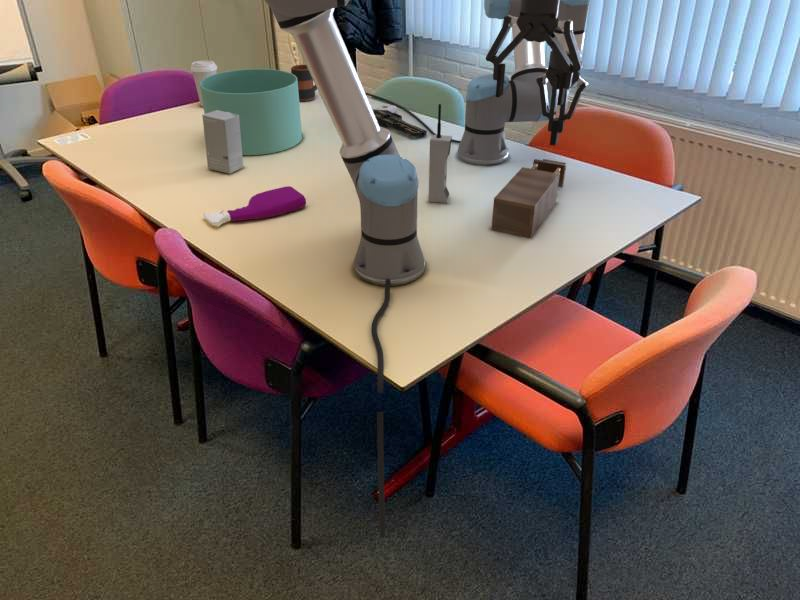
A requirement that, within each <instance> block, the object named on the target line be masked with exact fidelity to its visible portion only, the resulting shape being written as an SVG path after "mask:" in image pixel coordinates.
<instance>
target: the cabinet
mask: <svg viewBox="0 0 800 600" xmlns="http://www.w3.org/2000/svg"><path fill="white" fill-rule="evenodd" d="M559 176H560V174H558V173H552V172H547V171H541V170H535V169H531V168H530V167H529V168H528V167H524V166H523V167H521V168H520V169H519V170H518V171H517V172H516V173H515V175H514V176H512V178H511V179H509V181H508V182H507V183H506V185H505V186H503V188H502V189H501V190H500V191H499V192H498V193H497V194H496V195H495V196H494V198H493V204H492V217H491V227H490V228H491V229H490V230H492V231H496V232H501V233H506V234H511V235H516V236H520V237H525V238H529V239H531V238H533V236H534V234H535V233H536V231H537V230H538V229H539V228H540V226H541V224H543V222H544V220H545V219H546V217H547V216H548V215H549V214H550V212H551V210H552V209H553V207H555V205H556V203H557V196H558V189H559V187H558V183H559Z"/></svg>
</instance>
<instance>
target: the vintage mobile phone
mask: <svg viewBox="0 0 800 600" xmlns="http://www.w3.org/2000/svg"><path fill="white" fill-rule="evenodd" d="M437 111H438V112H437V127H436V129H437V130H436V134H437V135H431V138H430V140H429V161H428V162H429V163H428V164H429V165H428V197H427V198H428V201H427V202H431V203H441V204H448V201H449V198H450V192H449V189H448V188H447V174H448V173H447V172H448V160H449V156H450V155H451V154H450V153H451V146H452V142H451V140H452V139H453V136H452V135H443V134H442V133H441V132H442V122H441V118H442V104H441V103H439V104H438V110H437Z"/></svg>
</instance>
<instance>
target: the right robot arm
mask: <svg viewBox="0 0 800 600" xmlns="http://www.w3.org/2000/svg"><path fill="white" fill-rule="evenodd" d="M590 1H591V0H559V9H558V20H559V21H567V20H569V19H572V20H573V33H574V37H575V40H576V43H577V46H578V49H579V52H580V55H581V56H582V52H581V50H583V48H584V47H583V46H584V41H585V40H584V39H585V33H586V26H587V21H588V19H587V18H588V13H589V6H590ZM483 6H484V7H483V8H484V14H485V16H486V17H487V18H488V19H496V20H504V17H505V16H507V15H509V14H511V15H513V16H514V17H519V15H520V6H521V0H484V1H483ZM520 32H521V31H520V29H519V27H518V26H517V23H515V25H514V26H513V27H511V33H512V41H513V40H514V38H515V37H516V36H517V35H518V34H519V33H520ZM554 33H555V35H556V37H557V39H558V41H559V43H560V45H561V46H562V48H563V49H564V51H565V53H566V54H567V56H568V58H569V59H570V61H571V62H572V59H571V56H570V52H569V49H568V46H567V43H566V40H565V37H564V32H562V31H561V29H560V27H558V28H557V29H556V30H555V31H554ZM544 48H545V47H544V42H542V43H540V42H536V41H531V42H530V41H527V40H526V39H525V38H524V39H523V40H522V41H521V42H520V43H519V44H518V45H517V46H516V47H515V49H514V50H513V58H514V70H515V71H514V72H513V73H512V74H511V76H510V78H509V76H507V75H506V74H505V76H504V88H503V95H502V96H500V97H496V86H497V80H493V73H489V74H483V75H479V76H476V77H474V78H472V79H471V80H470V81H469V82H468V84H467V89H466V94H465V118H464V132H463V134H462V136H461V139H460V140H457V139H453V138H452V140H451V143H454V144H455V143H456V144H458V146H457V153H456V154H457V156H456V157H457V158H458V159H459V160H460V161H462V162H464V163H466V164H471V165H477V166H493V165H499V164H502V163H504V162H506V161H507V160H508V158H509V147H508V143H507V140H506V134H505V124H506V123H526V122H527V123H528V122H530V123H531V122H535V123H538V122H545V121H548V124H547V131H548V132H550V139H549V146H554V147H555V146H557V144H558V143H559V136H560V134H562V133H563V131H564V128H565V122H566V121H567V120H568V121H569V120H571V118H572V117H573V116H574V114H575V111H576V109H577V106H578V103H579V101H580V99H581V97H582V95H583V92H584V90H585V89H586V88H587V86H588V85H589V82H588V81H587V80H584V78H582V77H581V72H580V70H579V71H575V72H573V77H572V84H571V87H570V88H569V89H566V91H565V99H564V103H563V104H562V105H561V106H560V105H557V103H558V95H559V88H560V80H561V73H562V72H563V71H565V70H564V68H563V67H562V65H561V63H560V62H559V60H558V59H557V57H556V55H555V54H554V52H553V51H552V50H550V53H549V60H548V67H547V66H546V62H545V61H546V59H545V49H544ZM572 64H573V62H572ZM576 83H577V84H576ZM575 84H576V88H577V89H576V91H575V93H574V96H573V98H572V100H571V103H570V105H569V108H568V103H569V95H570V91H571V88H572V87H573V86H574V85H575ZM365 93H366V96H368V97H372V98H375V99H377V100H381V101H384V102H386V103H387V104H388V103H389V104H390V105H394V106H396V107H397V108H399V109H401V110H403V111H404V112H406V113H408V114H409V115H410V116H411V117H413V118H414V119H415V120H417V122H419V123H420V124H421V125H422V126H423V127H424V128H425V129H426V130H427V131H429V133H430V134H431V136H433V135H437V133H435V132H434V131H433V130H432V129H431V127H429V126H428V125H427V124H426V123H425V122H424V121H423V120H422V119H420V118H419V117H418V116H417V115H415V114H414V113H413V112H412V111H410V110H408V109H407V108H405V107H403V106H402V105H400V104H398V103H397V102H394V101H392V100H389V99H387V98H384V97H381V96H378V95H375V94H372V93H369V92H366V91H365ZM558 106H560V107H559V114H558V117H556V116H557V109H558ZM567 110H568V111H567Z"/></svg>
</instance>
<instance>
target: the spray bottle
mask: <svg viewBox="0 0 800 600" xmlns="http://www.w3.org/2000/svg"><path fill="white" fill-rule="evenodd" d="M306 204H307V199H306V197H305V195H304V194H302V193H301V192H299V191H298V190H297V189H295V188H294V187H293V186H290V185H288V186H282V187H278V188H274V189H269V190H265V191H262V192H259V193H256V194H255V195H252V196H251V197H250V198H249V201H248V203H247V205H245V206H242V207H241V208H235V209H228V210H227V211H225V212H224V209H221V210H218V211H216V212H208V213H207V212H206V211H204V212H202V216H203V217H204V219H205V220H206V221H207V222H208V223H209V224H210V225H212V226H215V227H218V228H220V226H221V225H222V224H225V223H227V222H230V221H231V222H234V221H246V220H254V219H255V220H262V219H268V218H272V217H276V216H279V215H280V216H281V215H284V214H287V213H290V212H293V211H297V210H300V209H302V208H304V207H305V206H306Z"/></svg>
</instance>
